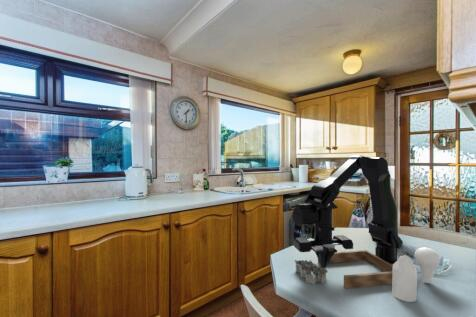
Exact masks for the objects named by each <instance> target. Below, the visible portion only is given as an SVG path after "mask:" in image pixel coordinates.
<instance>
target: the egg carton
mask: <svg viewBox="0 0 476 317" xmlns="http://www.w3.org/2000/svg"><path fill="white" fill-rule="evenodd" d="M294 263H295V272H296V273H300V278H305V283H307V284H311V285H316V282H319V283H322V284H324V283H326V280H327V273H328V270H327V269H326V268H321V266H320V265H318V264H316V263H314V262H313V261H312V260H309V261H308V260H307V259H305V260H303V259H302V260H300V259H299V260H296V259H294ZM312 271H313V273H314V274H316V275H315V276H314V275H312ZM317 274H318V275H317Z"/></svg>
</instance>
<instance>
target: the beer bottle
mask: <svg viewBox="0 0 476 317" xmlns="http://www.w3.org/2000/svg"><path fill="white" fill-rule="evenodd" d="M391 177H392V176H391V173H390V170H388V174H387V176H386V177H385V179H384V186H385V194H386V201H387V209H388V217H389V219H390V220H391V222H392V223H393V224H394V226H395V229H396V233H397V235H398V236H399V210H398V205H397V202H396V199H395V197H394V195H393V192H392V187H391V186H392V184H391ZM371 213H372V215H371V218H372V219H373V212H371ZM372 219H371V220H372Z"/></svg>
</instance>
